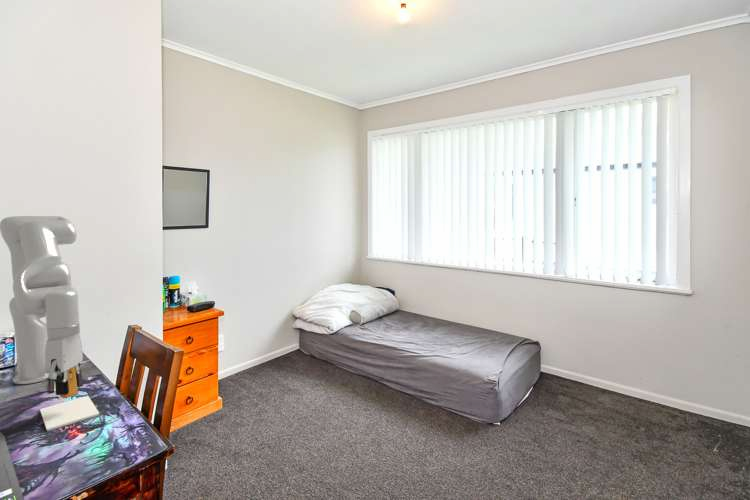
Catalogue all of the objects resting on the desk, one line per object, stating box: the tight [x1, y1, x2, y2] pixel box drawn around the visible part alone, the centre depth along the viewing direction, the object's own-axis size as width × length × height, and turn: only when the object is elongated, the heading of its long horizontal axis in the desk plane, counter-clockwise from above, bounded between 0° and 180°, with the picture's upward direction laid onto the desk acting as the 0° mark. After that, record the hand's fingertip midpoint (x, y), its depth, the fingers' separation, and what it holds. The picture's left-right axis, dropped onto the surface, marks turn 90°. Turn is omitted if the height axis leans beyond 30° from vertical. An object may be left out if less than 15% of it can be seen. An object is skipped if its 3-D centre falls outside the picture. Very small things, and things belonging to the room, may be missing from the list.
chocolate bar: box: [48, 368, 84, 394], centre depth 137 cm, size 9×1×18 cm
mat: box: [39, 395, 100, 432], centre depth 115 cm, size 16×12×1 cm
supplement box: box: [58, 366, 78, 399], centre depth 114 cm, size 3×3×10 cm
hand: (67, 390), depth 114 cm, fingers closed on supplement box, 4 cm apart
